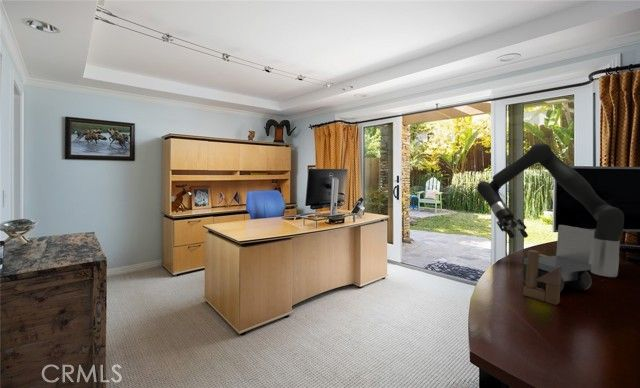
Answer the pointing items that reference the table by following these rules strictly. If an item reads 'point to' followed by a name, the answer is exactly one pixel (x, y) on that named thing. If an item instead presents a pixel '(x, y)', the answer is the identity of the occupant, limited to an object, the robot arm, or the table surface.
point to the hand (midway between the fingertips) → (519, 237)
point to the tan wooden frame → (550, 278)
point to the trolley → (569, 258)
